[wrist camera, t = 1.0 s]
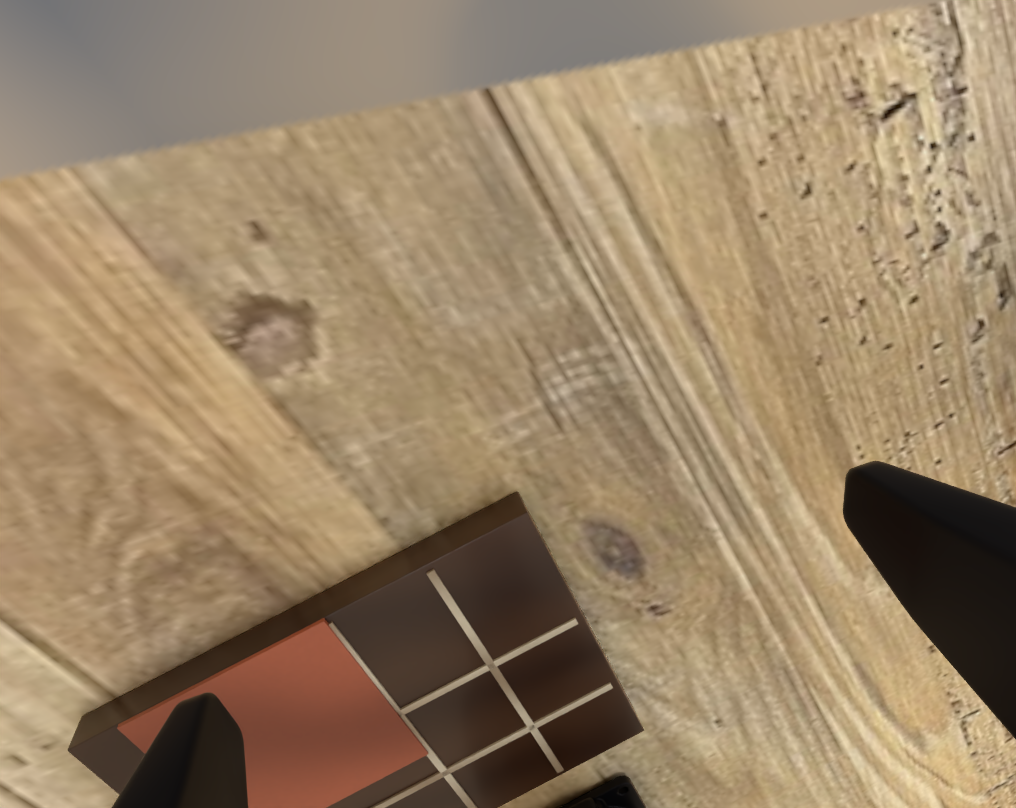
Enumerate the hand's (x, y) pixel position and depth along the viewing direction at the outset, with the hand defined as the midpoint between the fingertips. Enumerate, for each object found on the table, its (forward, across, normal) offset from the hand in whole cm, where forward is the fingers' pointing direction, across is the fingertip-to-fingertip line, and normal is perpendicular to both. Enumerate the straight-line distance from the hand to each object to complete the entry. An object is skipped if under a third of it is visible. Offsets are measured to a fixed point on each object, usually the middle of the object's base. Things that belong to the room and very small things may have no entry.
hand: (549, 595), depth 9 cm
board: (+12, +6, +17) cm, 22 cm away
